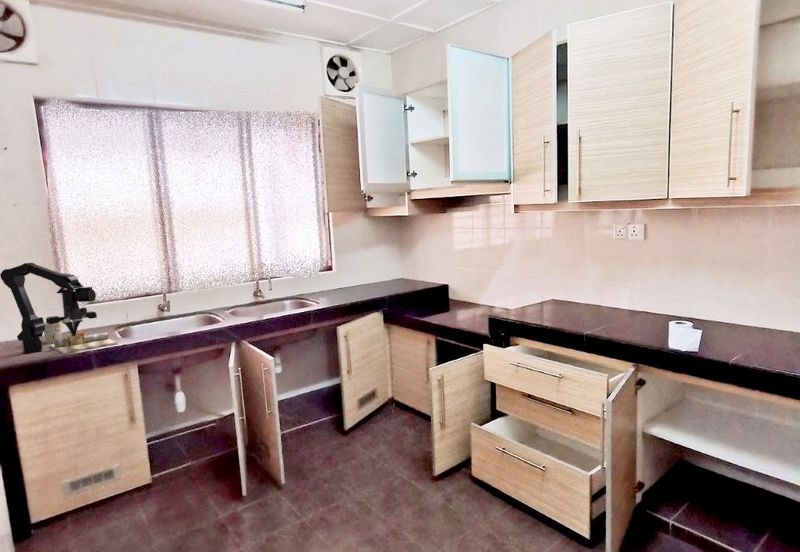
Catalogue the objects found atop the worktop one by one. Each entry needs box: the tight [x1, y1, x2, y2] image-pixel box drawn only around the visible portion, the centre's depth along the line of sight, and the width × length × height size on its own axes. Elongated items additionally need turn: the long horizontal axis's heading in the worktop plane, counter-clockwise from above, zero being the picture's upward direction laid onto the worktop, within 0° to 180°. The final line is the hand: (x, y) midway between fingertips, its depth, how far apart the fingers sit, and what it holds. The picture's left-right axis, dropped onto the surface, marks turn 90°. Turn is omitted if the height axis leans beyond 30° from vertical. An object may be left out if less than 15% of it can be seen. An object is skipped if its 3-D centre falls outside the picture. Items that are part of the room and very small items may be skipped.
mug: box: [43, 321, 63, 344], centre depth 245 cm, size 8×13×10 cm, turn 61°
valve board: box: [49, 331, 119, 354], centre depth 233 cm, size 22×24×5 cm
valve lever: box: [70, 330, 85, 337], centre depth 228 cm, size 13×2×2 cm, turn 48°
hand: (73, 335), depth 223 cm, fingers closed
